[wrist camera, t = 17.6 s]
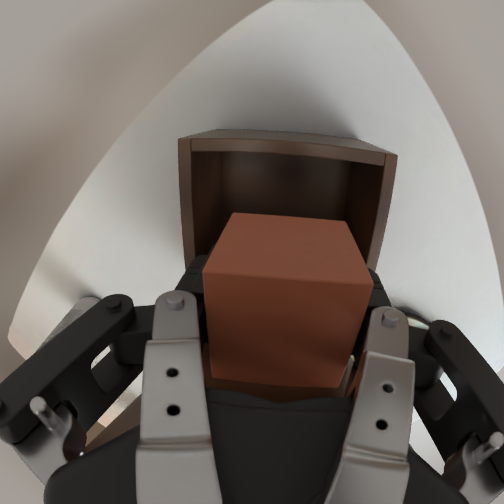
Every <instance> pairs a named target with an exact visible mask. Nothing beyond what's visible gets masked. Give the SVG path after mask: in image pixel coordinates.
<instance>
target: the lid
mask: <svg viewBox="0 0 504 504" xmlns="http://www.w3.org/2000/svg"><path fill="white" fill-rule="evenodd" d="M202 353H203V361H204V369H205V378H206V385H207V387H211V388H217V389H224V390H232V391H240V392H244V393H247V394H250V395H253V396H256V397H260V398H263V399H266V400H269V401H273V402H276V403H285V402H291V401H298V400H304V399H309V398H315V397H333V398H342V397H343V395H344V392H345V388H346V385H347V381H348V378H349V374H350V370H351V367H352V364H353V362H354V361H353V359H352V358H351V356H350V359H349V361H348V364H347V366H346V369H345V371H344V374H343V376H342V379H341V381H340V384H339V386H338V387H337V388H327V387H299V386H283V385H270V384H259V383H250V382H241V381H233V380H225V379H218V378H213V377H212V371H211V362H210V353H209V344H205V346H204V349H203V352H202ZM141 397H142V393H141V394H140V395H139V396H138V397H137V398H136V399H135V400H134V401H133V402H132V403H131V404H130V405H129V406H128V407H127V408H126V409H125V410H124V411H123V412H122V413H121V414H120V415H119V416H118V417H117V418H116V419H114V420H113V421H112V422H111V423H110V424H109V425H108V426H107V427H106V428H105V429H104V430H103V431H102V432H101V433H100V434H99V435H98V436H97V437H96V438H95V439H93V440H92V441H91V442H90V443H89V444H88V445H87V446H86V451H85V453H84V454H86V453H87V452H89V451H91V450H93V449H95V448H97V447H99V446H101V445H103V444H104V443H106V442H108V441H110V440H112V439H113V438H115V437H117V436H119V435H121V434H122V433H124V432H126V431H127V430H129V429H131V428H133V427H134V426H136V425H138V424H139V423H140V421H141ZM408 446H409V447H410V448H411V449H412V450H413V448H412V447H411V445H410V444H409V445H408ZM413 451H414V450H413ZM84 454H83V455H84ZM81 456H82V455H81ZM79 457H80V456H79Z"/></svg>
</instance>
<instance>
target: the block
mask: <svg viewBox="0 0 504 504" xmlns="http://www.w3.org/2000/svg"><path fill="white" fill-rule="evenodd" d="M202 274H203V288H204V300H205V312H206V323H207V334H208V344H209V353H210V362H211V371H212V377H213V378H218V379H225V380H233V381H241V382H250V383H259V384H270V385H283V386H299V387H327V388H337V387H338V386H339V384H340V381H341V379H342V376H343V374H344V371H345V369H346V366H347V364H348V361H349V359H350V356H351V353H352V350H353V348H354V345H355V342H356V339H357V336H358V334H359V331H360V328H361V325H362V322H363V319H364V316H365V312H366V309H367V306H368V303H369V299H370V296H371V293H372V289H373V286H374V283H373V280H372V278H371V276H370V273H369V271H368V269H367V266H366V264H365V262H364V260H363V257H362V255H361V253H360V251H359V249H358V247H357V244H356V242H355V240H354V238H353V236H352V234H351V232H350V230H349V227H348V225H347V223H346V222H345V221H336V220H325V219H314V218H302V217H290V216H277V215H263V214H248V213H233V214H232V215H231V217H230V219H229V221H228V223H227V225H226V227H225V228H224V230H223V232H222V234H221V236H220V238H219V240H218V242H217V244H216V245H215V247H214V249H213V251H212V253H211V255H210V257H209V259H208V261H207V263H206V265H205V266H204V268H203V271H202Z"/></svg>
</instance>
